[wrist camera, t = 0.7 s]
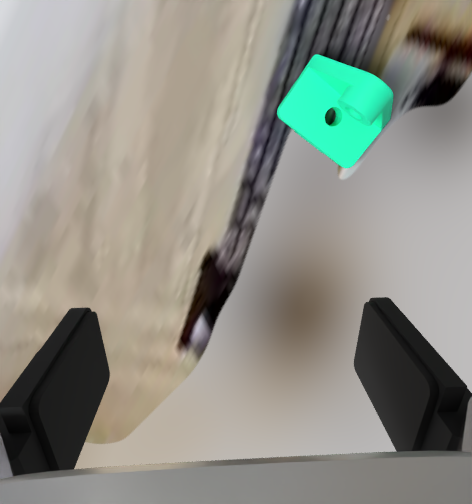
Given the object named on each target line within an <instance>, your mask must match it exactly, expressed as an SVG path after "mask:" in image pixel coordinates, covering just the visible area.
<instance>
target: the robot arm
mask: <svg viewBox="0 0 472 504" xmlns="http://www.w3.org/2000/svg"><path fill="white" fill-rule="evenodd" d="M354 367H355V371H356V373H357V375H358V377H359V379H360V381H361V383H362V385H363V386H364V388H365V390H366V392H367V394H368V396H369V398H370V400H371V402H372V404H373V406H374V408H375V410H376V412H377V414H378V416H379V417H380V420H381V421H382V424H383V426H384V427H385V429H386V431H387V433H388V435H389V437H390V439H391V441H392V443H393V445H394V447H395V449H396V451H397V452H374V453H352V454H332V455H311V456H291V457H273V458H272V457H271V458H252V459H234V460H215V461H199V462H182V463H181V462H180V463H163V464H146V465H130V466H114V467H99V468H86V469H74V468H75V465H76V463H77V460H78V457H79V455H80V452H81V450H82V447H83V445H84V442H85V440H86V437H87V435H88V432H89V430H90V427H91V425H92V422H93V420H94V417H95V415H96V412H97V410H98V407H99V405H100V402H101V400H102V397H103V395H104V392H105V390H106V387H107V385H108V382H109V377H110V372H109V367H108V362H107V358H106V353H105V349H104V344H103V340H102V335H101V331H100V326H99V322H98V318H97V314H96V312H92V311H91V309H90V308H71V309H70V310H69V311H68V312H67V314H66V315H65V316H64V318H63V319H62V321H61V322H60V323H59V325H58V326H57V327H56V329H55V330H54V332H53V333H52V334H51V336H50V337H49V338H48V340H47V341H46V342H45V344H44V345H43V347H42V348H41V349H40V350H39V351H38V352H37V353H36V355H35V356H34V358H33V359H32V360H31V362H30V363H29V364H28V366H27V367H26V368H25V370H24V371H23V373H22V374H21V375H20V377H19V378H18V379H17V381H16V382H15V383H14V385H13V386H12V388H11V389H10V390H9V392H8V393H7V394H6V396H5V397H4V398H3V400H2V401H1V403H0V504H472V393H471V392H470V391H469V390H468V389H467V385H466V384H465V383H464V382H463V381H462V380H461V379H460V378H459V376H458V375H457V374H456V373H455V372H454V371H453V370H452V369H451V367H450V366H449V365H448V364H447V363H446V362H445V361H444V359H443V358H442V357H441V356H440V355H439V354H438V353H437V352H436V350H435V349H434V348H433V347H432V346H431V345H430V343H429V342H428V341H427V340H426V339H425V338H424V337H423V336H422V334H421V333H420V332H419V331H418V330H417V329H416V328H415V327H414V325H413V324H412V323H411V322H410V321H409V320H408V319H407V317H406V316H405V315H404V314H403V313H402V312H401V311H400V310H399V308H398V307H397V306H396V305H395V304H394V303H393V302H392V301H391V299H389V298H386V297H385V298H371V299H370V301H369V302H366V303H365V304H364V309H363V314H362V320H361V326H360V331H359V336H358V342H357V347H356V353H355V359H354Z"/></svg>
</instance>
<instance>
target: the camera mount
mask: <svg viewBox="0 0 472 504" xmlns="http://www.w3.org/2000/svg"><path fill="white" fill-rule="evenodd" d="M393 96H394V95H393V92H392V90H391V89H390V88H389V87H388V86H387V85H386V84H385V83H384V82H383V81H382V80H381V79H379V78H378V77H376V76H375V75H373V74H371V73H368V72H366V71H363V70H360V69H357V68H354V67H352V66H349V65H346V64H343V63H340V62H338V61H335V60H332V59H329V58H326V57H324V56H321V55H318V54H316V55H314V56H313V57H312V58H311V60H310V61H309V63H308V64H307V66H306V67H305V69H304V70H303V72H302V73H301V75H300V76H299V78H298V79H297V81H296V82H295V84H294V85H293V86H292V88H291V89H290V91H289V92H288V94H287V95H286V97H285V98H284V100H283V101H282V103H281V104H280V106H279V107H278V110H277V115H278V117H279V119H281V120H282V121H283V122H284V123H286V124H287V125H288V126H289V127H291V128H292V129H293V130H295V132H296V133H297V134H299V135H300V136H301V137H302V138H304V139H305V140H306V141H308V142H309V143H310V144H311V145H313V146H314V147H315V148H316V149H318V150H319V151H320V152H322V153H324V154H325V155H327V156H328V157H329V158H330V159H332V160H333V161H334V162H335V163H337V164H338V165H339V166H341V167H344V168H350V167H352V166H353V165H354V164H355V163H356V161H357V160H358V159H359V158H360V156H361V155H362V154H363V153H364V151H365V150H366V149H367V148H368V146H369V145H370V144H371V143H372V142H373V140H374V139H375V138H376V137H377V135H378V134H379V133H380V132H381V130H382V129H383V128H384V127H385V125H386V124H387V123H388V122H389V120H390V119H391V111H392V104H393ZM330 108H333V109H334V110H335V112H336V118H335V121H334V122H333V123H332V124H331V125H327V124H326V122H325V114H326V112H327V111H328V110H329V109H330Z"/></svg>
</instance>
